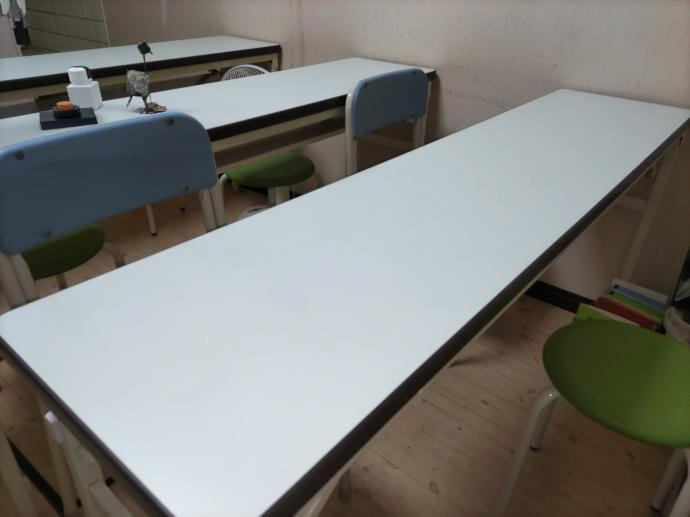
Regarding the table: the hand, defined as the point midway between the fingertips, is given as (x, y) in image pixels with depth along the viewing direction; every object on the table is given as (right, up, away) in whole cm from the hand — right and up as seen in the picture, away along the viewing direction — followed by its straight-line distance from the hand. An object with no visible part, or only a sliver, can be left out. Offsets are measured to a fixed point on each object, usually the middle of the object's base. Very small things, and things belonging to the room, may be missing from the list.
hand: (24, 44), depth 132 cm
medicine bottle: (+3, -9, +26) cm, 28 cm away
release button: (+5, -14, +11) cm, 18 cm away
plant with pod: (+23, -11, +25) cm, 35 cm away
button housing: (+5, -17, +13) cm, 22 cm away
